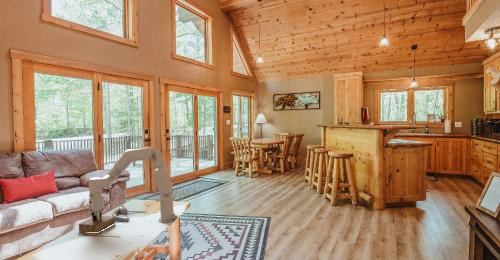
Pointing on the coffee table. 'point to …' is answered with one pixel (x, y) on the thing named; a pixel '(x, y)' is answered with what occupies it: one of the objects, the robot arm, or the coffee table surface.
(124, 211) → the faucet
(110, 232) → the coffee table surface
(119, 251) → the coffee table surface
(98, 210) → the peg
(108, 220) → the socket block
